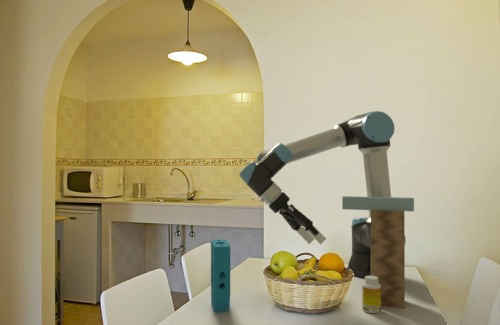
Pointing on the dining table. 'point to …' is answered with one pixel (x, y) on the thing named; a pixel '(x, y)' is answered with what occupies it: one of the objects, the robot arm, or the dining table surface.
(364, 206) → the bar
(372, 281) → the supplement bottle
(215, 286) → the block
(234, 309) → the dining table surface
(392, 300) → the walnut stand
